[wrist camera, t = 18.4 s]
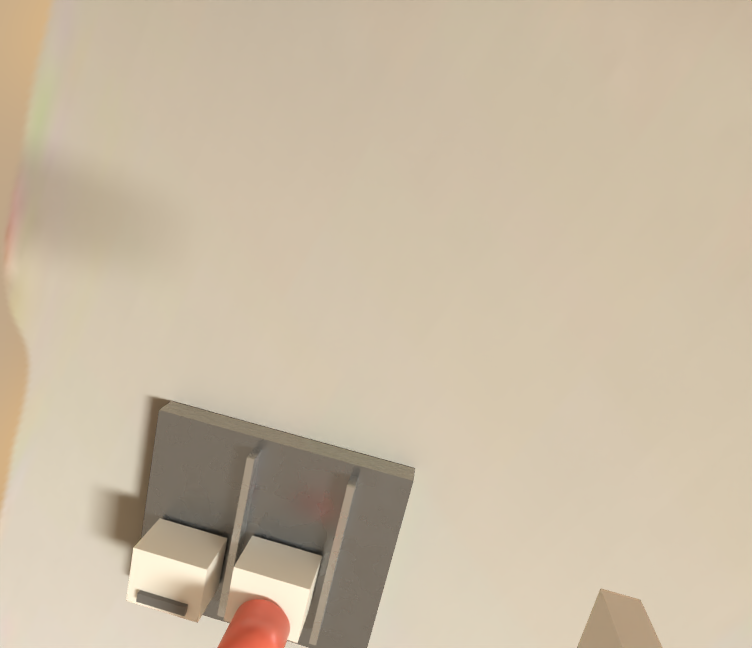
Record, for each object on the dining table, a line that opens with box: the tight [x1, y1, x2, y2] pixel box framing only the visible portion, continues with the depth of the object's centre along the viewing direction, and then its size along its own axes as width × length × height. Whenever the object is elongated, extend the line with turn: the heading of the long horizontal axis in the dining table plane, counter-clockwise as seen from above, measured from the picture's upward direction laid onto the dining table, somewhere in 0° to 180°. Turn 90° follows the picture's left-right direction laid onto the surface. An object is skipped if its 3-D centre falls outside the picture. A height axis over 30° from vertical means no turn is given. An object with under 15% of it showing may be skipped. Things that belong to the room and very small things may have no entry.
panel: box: [141, 401, 415, 648], centre depth 47 cm, size 18×21×4 cm
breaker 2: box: [224, 536, 322, 643], centre depth 44 cm, size 5×6×4 cm
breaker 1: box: [126, 518, 227, 623], centre depth 45 cm, size 5×6×4 cm
